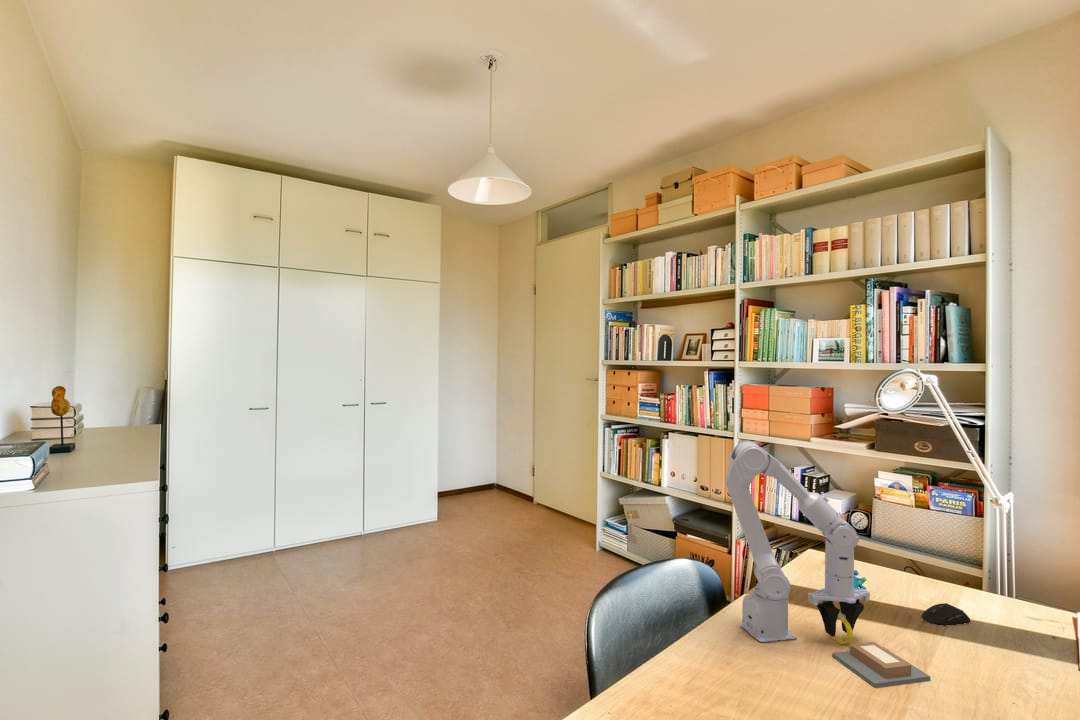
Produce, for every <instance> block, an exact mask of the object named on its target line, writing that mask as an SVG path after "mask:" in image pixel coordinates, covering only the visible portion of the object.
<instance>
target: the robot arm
mask: <svg viewBox="0 0 1080 720" xmlns="http://www.w3.org/2000/svg"><path fill="white" fill-rule="evenodd" d="M760 473H761V474H762V475H764V476H767V477H772V478H774V479H775V480H776V481H778V482H779V484H781V485H782V487H784V488H785V490H787V491H788V493H790V494H791V495H792V496H793V497H794V498H795V499H797V502H798V503H797V504H798V505H797V507H798V510H799V511H800V513H802V514H803V515H804V517H805V518H807V519H808V521H810V523H812V525H813V526H814V527H816V528H817V529H818V531H820V532H821V533H822V535H823V536H824V537H825V538H826V539H825V551H824V588H821V589H818V590H815V591H813V592H808V593H807V596H808V597H807V602H808V603H810V604H812V605H814V606H816V607H817V609H818V611H819V613H820V616H821V619H822V622H823V626H824V630H825V633H826V634H828V635H830V636H832V637H833V636H836V633H837V621H838V620H837V617H838V614H839V613H842V614H844V615H845V616H846V620H847V621H848V622H849V624H850V626H851V628H852V631H854V628H855V626H856V623H857V620H858V618H859V617H860V615H861V614H862V612H863V611H864V609H865V605H864V604H863V603H862V602H860V601H861V600H864V601H867V602H868V601H870V600H871V599H870V593H871V592H870V591H868V590H867V589H866V590H865V589H860V588H859V589H854V576H855V575H854V570H855V554H854V553H855V547H857V545H858V544H859V542H860V541H859V540H860V537H859V536H858V533H857V530H856V529H855V528H854V527H853V526H852V525H851V524H849V522H847V521H846V519H845V516H844V515H843V513H841V512H838V511H837V510H835V508H833V507H832V506H831V504H830V503H828V502H829V501H830V500H829V499H828V498H827V496H825V494H824V495H823V494H822V495H821V494H820V493H818V492H810V491H808V489H807V488H806V487H804V486H803V484H802V483H800V481H799V480H798V479H797V478H796V477H795V476H794V475H793V474H792V473H791V472H790V471H789V469H788V468H787V467H785V465H784V464H783V463H782V462H780V461H779V460H778V459H777V458H775V457H774V456H773V455H771V454H770V453H768V452H767V451H766V450H765V449H764V448H763V447H761V446H759V445H758V444H757V443H756V442H754V441H753V440H742V441H740V442H738V443H737V444H736V446H735V447H734V448H733V449H732V451H731V452H730V454H729V463H728V465H727V470H726V474H725V480H724V482H725V486H726V489H727V492H728V494H729V497H730V500H731V502H732V505H733V508H734V510H735V513H736V515H737V518H738V521H739V523H740V527H741V529H742V532H743V535H744V537H745V539H746V543H747V546H748V548H749V551H750V553H751V557H752V560H753V563H754V565H753V566H754V567H753V574H754V577H755V578H756V579H757V583H756V585H755V587H754V590H753V592H751V593H749V594H746V595H745V596H744V597H743V599H742V614H741V616H742V623H740V627H741V628H743V630H745V631H746V632H747V633H748V634H750V636H752V637H753V638H754V637H755V638H754V639H756V641H758V642H759V643H768V642H769V641H770V642H777V641H778V640H780V641H786V639H789V640H796V639H797V638H798V637H797V635H796V634H794V633H793V632H792V631H790V630H789V594H790V591H791V583H790V580H789V579H788V577H787V576H786V575H785V573H784V571H783V570H782V567H781V565H780V564H779V562H778V561H777V559H776V557H775V554H774V552H773V549H772V548H771V547H772V546H771V544H770V542H769V539H768V536H767V534H766V531H765V529H764V526H763V523H762V521H761V518H760V516H759V512H758V511H757V507H756V505H755V502H754V500H753V498H752V497H753V496H752V493H751V491H750V488H749V487H750V485H751V484H752V482H753V480H754V479H755V478H756V477H757V476H758V475H760ZM834 603H838V604H839V607H840V609H839V608H838V607H836V606H835V604H834ZM841 628H842V629H841V630H842V631H843V632H844V633H846V634H847V630H846V627H845V625H844V624H843V623H842V622H841ZM830 636H829V637H830Z"/></svg>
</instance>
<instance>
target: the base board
mask: <svg viewBox="0 0 1080 720" xmlns="http://www.w3.org/2000/svg"><path fill="white" fill-rule="evenodd" d="M831 657H832V658H833V659H835V660H836V661H837V662H838V663H840V664H842V665H843V666H844V667H846V668H847V669H848V670H850V671H851V672H852V673H854V674H855V675H856V676H857V677H859V678H861V679H862V680H863V681H865V682H866V683H868V684H869V685H870V686H872V687H873V688H883V687H889V686H890V687H891V686H898V685H899V686H900V685H906V684H914V683H922V682H929V681H931V675H929V674H927V673H925V672H924V671H923V670H921V669H919V668H918V667H916V665H913V664H912V663H910V662H908V661H906V660H905V659H903V658H902V657H900V656H899V655H897V654H895V653H894V652H892V651H890V650H889V649H888V648H885V646H881V645H880V644H878V643H877V642H875V641H869V642H859V643H850V644H849V650H846V651H838V652H837V651H836V652H831Z"/></svg>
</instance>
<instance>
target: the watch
mask: <svg viewBox="0 0 1080 720" xmlns="http://www.w3.org/2000/svg"><path fill="white" fill-rule="evenodd" d="M837 621H841V624H842V623H843V624H844V625H845V627H846V630H847V633H846V636H847V637H846V639H845V640H843V639H841V638H840V637H838V636H836V635H835V636H833V637H832V636H830V635H829V634H828V635H829V637H830V639H831V638H832V640H834V641H836V642H837V643H840V645H846V644H849V643H851V642H852V641H853V635H854V634H853V633H854V632H853V631H854V630H853V631H852V628H851V626H850V624H849V622H848V621H847V620H846V616H845V615H844V614H842V613H841V612H839V614H838V617H837Z"/></svg>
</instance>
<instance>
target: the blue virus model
mask: <svg viewBox="0 0 1080 720" xmlns="http://www.w3.org/2000/svg"><path fill="white" fill-rule="evenodd" d="M859 575H860V573H859V571H858V570H857V569H854V589H865V590H867V587H866V586H864V585H863V584H864V583H865V582H866V581H868V580H867V578H866V577H865V576H863V577H858V576H859Z"/></svg>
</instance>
